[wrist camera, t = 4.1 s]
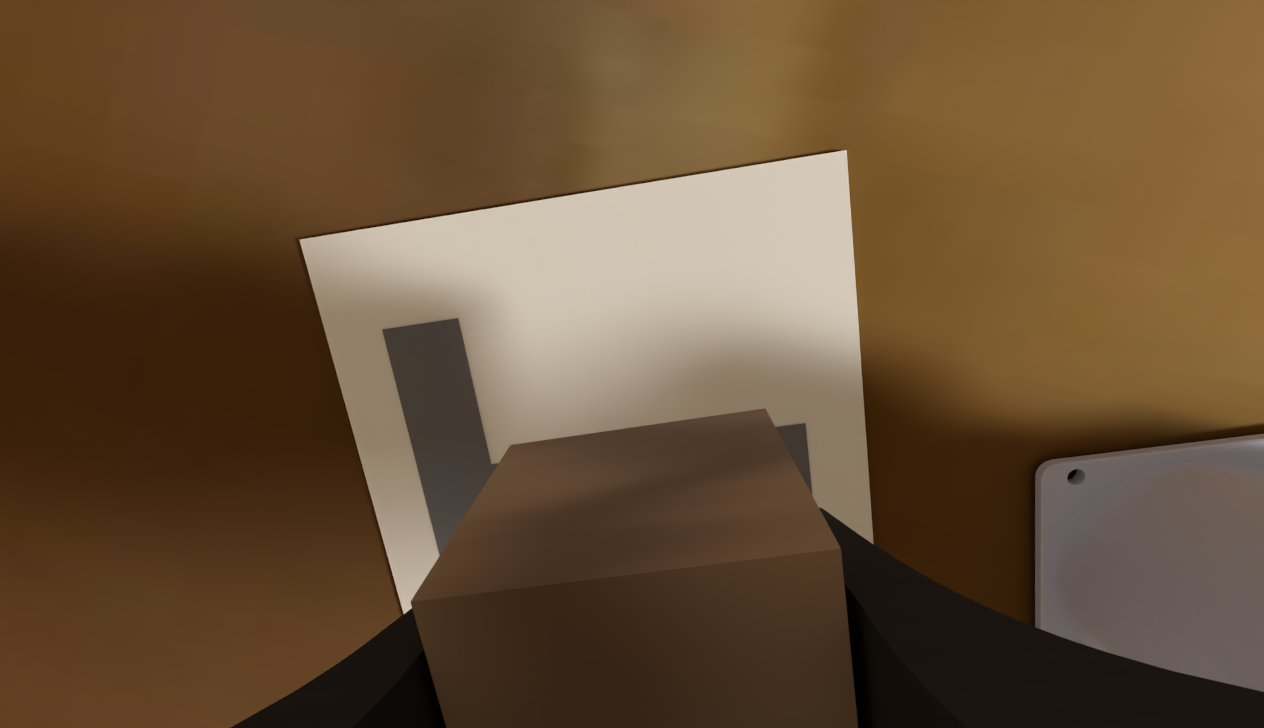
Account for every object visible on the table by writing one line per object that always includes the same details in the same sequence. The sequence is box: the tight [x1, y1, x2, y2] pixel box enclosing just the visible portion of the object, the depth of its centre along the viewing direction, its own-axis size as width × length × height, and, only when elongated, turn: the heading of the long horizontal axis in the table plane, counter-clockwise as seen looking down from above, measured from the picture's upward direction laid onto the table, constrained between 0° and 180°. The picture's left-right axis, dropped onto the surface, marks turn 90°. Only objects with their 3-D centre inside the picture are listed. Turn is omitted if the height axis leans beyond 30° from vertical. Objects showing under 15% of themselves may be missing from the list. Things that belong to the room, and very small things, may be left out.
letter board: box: [300, 150, 874, 614], centre depth 20 cm, size 16×18×1 cm
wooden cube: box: [411, 408, 858, 728], centre depth 10 cm, size 5×5×5 cm
